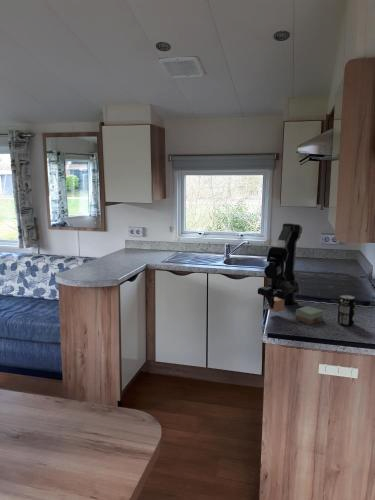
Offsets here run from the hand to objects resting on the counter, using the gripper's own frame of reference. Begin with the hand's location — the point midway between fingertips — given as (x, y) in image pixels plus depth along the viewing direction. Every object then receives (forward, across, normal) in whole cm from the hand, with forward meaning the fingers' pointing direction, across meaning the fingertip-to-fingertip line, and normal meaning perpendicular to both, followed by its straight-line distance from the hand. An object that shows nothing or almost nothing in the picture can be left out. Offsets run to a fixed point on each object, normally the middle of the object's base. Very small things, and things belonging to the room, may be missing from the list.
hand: (276, 307), depth 176 cm
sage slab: (+2, +8, -12) cm, 15 cm away
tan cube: (+1, 0, 0) cm, 1 cm away
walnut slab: (+4, +8, -12) cm, 15 cm away
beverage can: (+4, +17, -24) cm, 30 cm away
